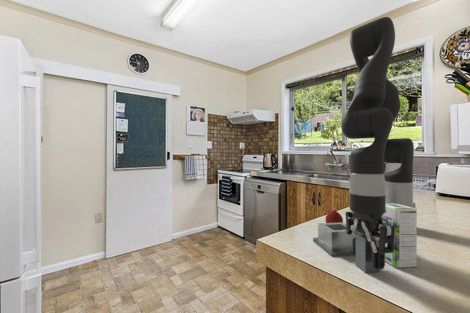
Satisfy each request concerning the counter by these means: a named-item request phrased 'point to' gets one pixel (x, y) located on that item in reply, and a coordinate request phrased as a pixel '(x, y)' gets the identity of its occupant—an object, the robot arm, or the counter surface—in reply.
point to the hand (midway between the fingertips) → (367, 260)
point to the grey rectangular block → (364, 253)
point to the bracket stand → (334, 239)
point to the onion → (334, 217)
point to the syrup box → (402, 235)
